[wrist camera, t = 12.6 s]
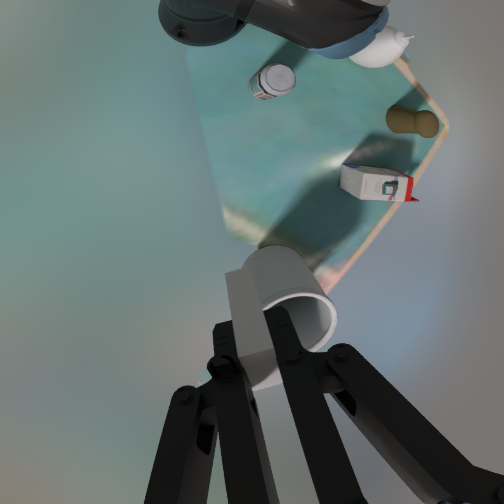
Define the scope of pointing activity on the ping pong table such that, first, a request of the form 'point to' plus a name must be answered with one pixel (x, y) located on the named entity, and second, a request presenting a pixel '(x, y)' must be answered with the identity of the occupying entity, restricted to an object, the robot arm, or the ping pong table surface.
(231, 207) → the ping pong table surface
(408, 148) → the ping pong table surface
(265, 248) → the utensil holder
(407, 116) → the cork
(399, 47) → the air blower bulb
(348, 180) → the ink box
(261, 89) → the beer can
